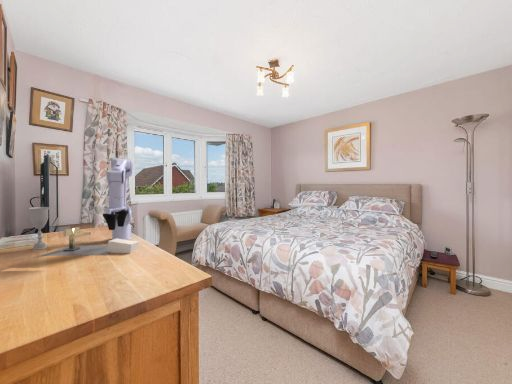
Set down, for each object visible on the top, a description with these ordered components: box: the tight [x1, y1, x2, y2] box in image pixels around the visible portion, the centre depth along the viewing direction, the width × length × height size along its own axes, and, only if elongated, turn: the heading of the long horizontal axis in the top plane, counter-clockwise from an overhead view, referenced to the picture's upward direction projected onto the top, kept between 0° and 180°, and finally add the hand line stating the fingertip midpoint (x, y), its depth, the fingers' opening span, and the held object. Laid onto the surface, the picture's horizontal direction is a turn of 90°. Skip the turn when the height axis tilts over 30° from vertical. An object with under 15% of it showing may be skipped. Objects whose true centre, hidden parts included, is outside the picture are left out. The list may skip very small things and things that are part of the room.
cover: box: [107, 238, 139, 254], centre depth 96 cm, size 5×10×4 cm, turn 85°
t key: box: [62, 226, 91, 249], centre depth 99 cm, size 2×12×8 cm, turn 175°
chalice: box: [28, 206, 50, 251], centre depth 102 cm, size 7×7×18 cm
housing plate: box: [41, 244, 112, 257], centre depth 97 cm, size 15×24×2 cm, turn 95°
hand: (116, 228), depth 102 cm, fingers open, 7 cm apart
